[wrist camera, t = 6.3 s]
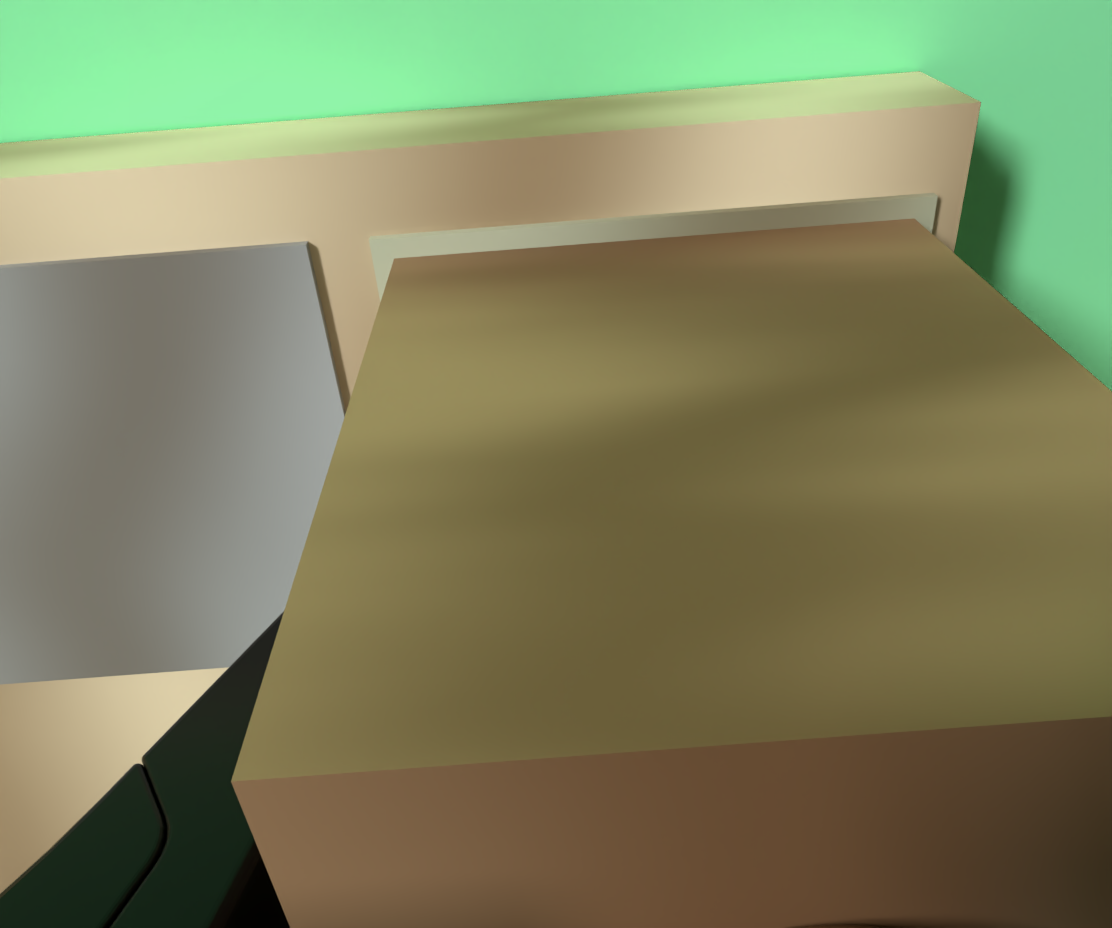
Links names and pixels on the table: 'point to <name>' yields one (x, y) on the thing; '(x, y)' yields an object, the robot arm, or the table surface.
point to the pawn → (699, 601)
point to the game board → (312, 349)
